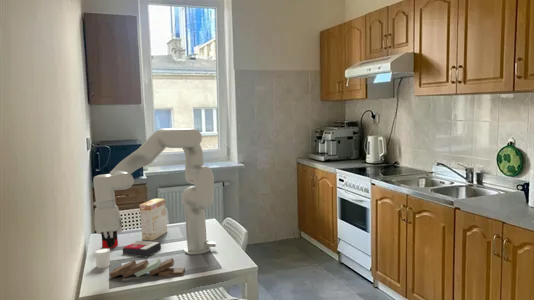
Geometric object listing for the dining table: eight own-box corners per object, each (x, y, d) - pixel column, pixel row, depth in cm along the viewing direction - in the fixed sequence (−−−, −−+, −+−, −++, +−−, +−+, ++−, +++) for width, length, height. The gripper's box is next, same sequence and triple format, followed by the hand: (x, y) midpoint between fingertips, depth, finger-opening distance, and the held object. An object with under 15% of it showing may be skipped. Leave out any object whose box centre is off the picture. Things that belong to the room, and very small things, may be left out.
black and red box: (137, 240, 213) (160, 241, 207) (138, 248, 213) (161, 249, 207) (121, 247, 203) (146, 248, 197) (122, 255, 203) (147, 257, 197)
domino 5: (161, 272, 178) (185, 272, 178) (158, 277, 173) (182, 276, 173) (161, 268, 178) (184, 267, 178) (158, 273, 173) (182, 272, 173)
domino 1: (116, 273, 179) (136, 264, 178) (111, 278, 174) (132, 269, 173) (114, 269, 178) (134, 260, 177) (109, 274, 173) (130, 264, 172)
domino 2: (128, 273, 178) (149, 263, 178) (124, 278, 173) (145, 268, 173) (126, 269, 178) (146, 259, 178) (122, 273, 173) (143, 263, 173)
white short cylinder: (94, 269, 184) (92, 254, 184) (96, 264, 191) (94, 249, 190) (110, 267, 186) (109, 252, 186) (111, 261, 193) (110, 247, 192)
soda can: (104, 249, 210) (102, 226, 209) (100, 246, 217) (98, 223, 215) (119, 246, 215) (118, 223, 214) (115, 242, 221) (113, 220, 220)
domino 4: (152, 271, 179) (174, 262, 180) (150, 275, 174) (173, 265, 175) (150, 267, 178) (172, 257, 179) (148, 271, 174) (171, 261, 174)
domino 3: (140, 272, 178) (161, 262, 178) (137, 277, 173) (158, 267, 173) (138, 268, 178) (159, 258, 178) (134, 273, 173) (156, 262, 173)
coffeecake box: (157, 231, 238) (154, 198, 236) (167, 232, 236) (165, 198, 234) (141, 239, 224) (138, 204, 222) (152, 240, 222) (150, 204, 220)
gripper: (84, 207, 170) (90, 250, 172) (120, 205, 169) (125, 248, 171) (92, 202, 177) (97, 244, 180) (126, 200, 177) (131, 242, 179)
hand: (111, 246), depth 175 cm, fingers closed
